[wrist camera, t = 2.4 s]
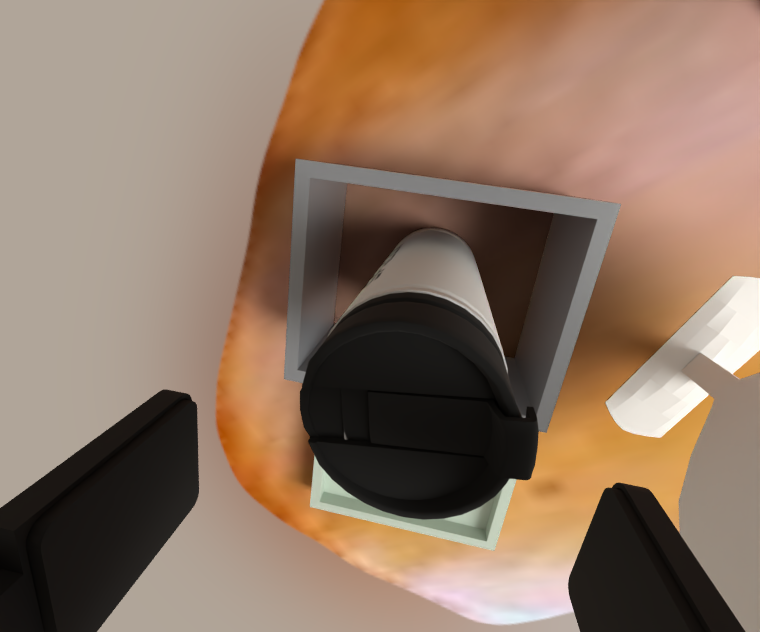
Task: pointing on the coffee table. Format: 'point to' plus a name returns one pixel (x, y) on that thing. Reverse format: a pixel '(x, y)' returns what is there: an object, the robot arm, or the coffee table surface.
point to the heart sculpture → (711, 436)
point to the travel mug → (418, 389)
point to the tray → (466, 528)
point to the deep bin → (568, 227)
